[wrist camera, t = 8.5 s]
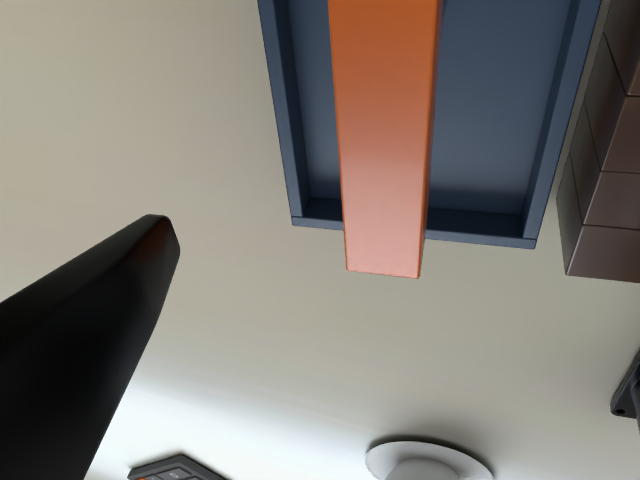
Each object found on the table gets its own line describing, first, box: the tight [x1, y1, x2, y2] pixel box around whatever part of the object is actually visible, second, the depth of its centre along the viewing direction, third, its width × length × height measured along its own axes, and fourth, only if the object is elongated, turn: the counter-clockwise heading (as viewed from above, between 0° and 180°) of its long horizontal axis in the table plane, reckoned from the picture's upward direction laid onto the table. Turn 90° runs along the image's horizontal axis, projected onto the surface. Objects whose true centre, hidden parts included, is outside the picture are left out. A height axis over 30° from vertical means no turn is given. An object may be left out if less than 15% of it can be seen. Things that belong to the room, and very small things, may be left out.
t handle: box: [328, 0, 446, 279], centre depth 15 cm, size 8×2×9 cm, turn 5°
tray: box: [257, 0, 602, 249], centre depth 18 cm, size 19×11×2 cm, turn 5°
